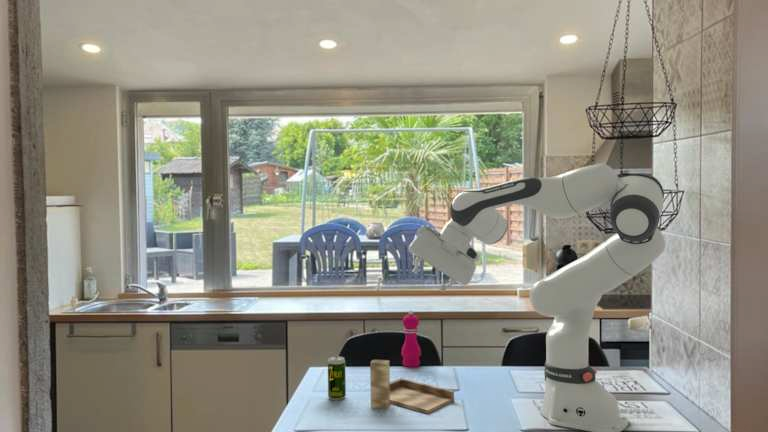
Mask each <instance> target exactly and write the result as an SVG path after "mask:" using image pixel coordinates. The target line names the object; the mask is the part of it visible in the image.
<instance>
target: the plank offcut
mask: <svg viewBox="0 0 768 432" xmlns="http://www.w3.org/2000/svg"><path fill="white" fill-rule="evenodd" d="M369 364H370V369H369V370H370V380H369V381H370V408H372V409H373V408H374V409H387V408H388V409H389V407H390V405H391V403H390V382H391V381H390V380H391V379H390V377H391V376H390V375H391V374H390V360H389V359H388V360H387V359H372V360H371V361H370V363H369Z"/></svg>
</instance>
